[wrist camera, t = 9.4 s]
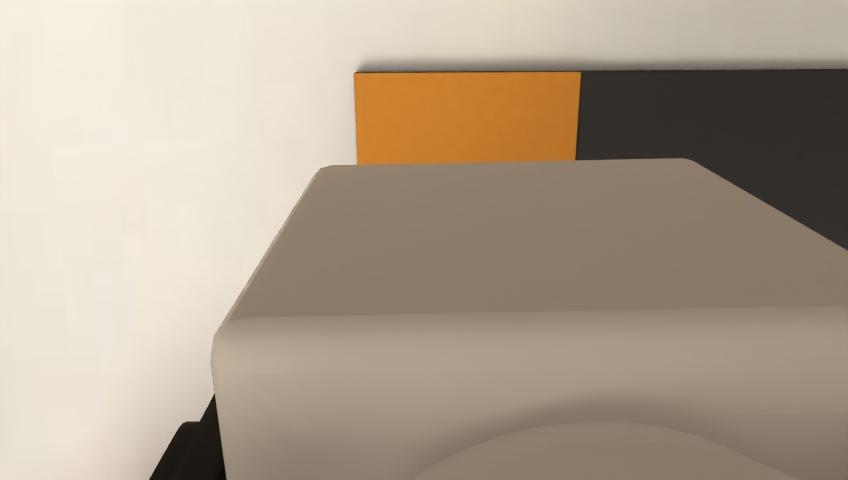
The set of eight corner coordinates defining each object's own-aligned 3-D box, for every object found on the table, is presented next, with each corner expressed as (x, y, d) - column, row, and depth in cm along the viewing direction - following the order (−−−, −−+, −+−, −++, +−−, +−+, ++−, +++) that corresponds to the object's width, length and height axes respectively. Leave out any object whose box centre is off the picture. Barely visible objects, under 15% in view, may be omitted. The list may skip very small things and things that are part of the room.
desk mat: (940, 68, 25) (950, 69, 24) (876, 343, 28) (884, 349, 28) (355, 71, 25) (353, 73, 24) (365, 346, 28) (364, 352, 28)
